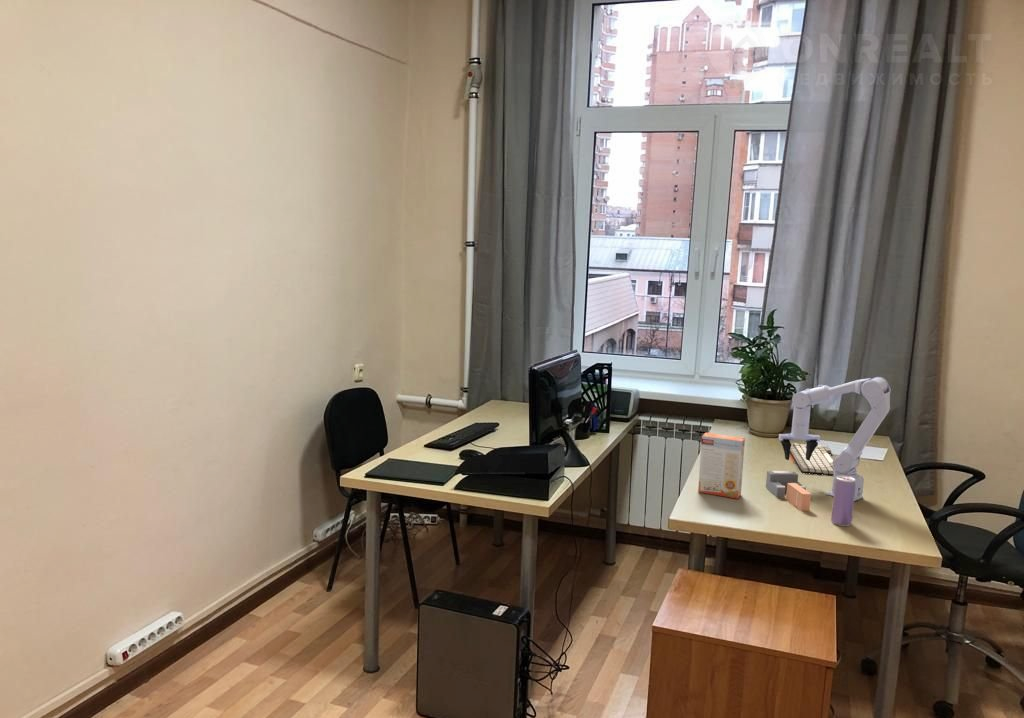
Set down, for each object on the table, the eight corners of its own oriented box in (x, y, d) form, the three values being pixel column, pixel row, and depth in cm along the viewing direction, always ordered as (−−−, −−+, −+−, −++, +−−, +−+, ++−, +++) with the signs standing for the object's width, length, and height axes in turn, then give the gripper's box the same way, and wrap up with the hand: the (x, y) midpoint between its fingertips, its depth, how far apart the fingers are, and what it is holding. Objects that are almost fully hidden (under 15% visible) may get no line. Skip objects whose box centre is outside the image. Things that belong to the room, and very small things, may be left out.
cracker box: (741, 494, 263) (745, 437, 260) (738, 499, 258) (742, 441, 255) (701, 487, 270) (705, 431, 266) (697, 492, 264) (701, 435, 261)
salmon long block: (785, 499, 260) (787, 483, 259) (794, 499, 260) (795, 482, 259) (800, 511, 249) (802, 494, 248) (809, 511, 250) (811, 494, 249)
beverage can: (849, 528, 235) (854, 482, 233) (829, 523, 238) (834, 478, 236) (852, 522, 240) (857, 477, 238) (832, 518, 243) (837, 473, 241)
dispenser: (765, 486, 272) (767, 470, 271) (793, 487, 272) (794, 470, 271) (776, 497, 261) (778, 480, 260) (805, 498, 262) (806, 480, 260)
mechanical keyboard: (850, 479, 286) (851, 470, 285) (798, 475, 289) (799, 466, 289) (827, 451, 323) (828, 444, 322) (781, 448, 326) (782, 441, 325)
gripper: (815, 421, 277) (812, 456, 279) (776, 420, 276) (773, 455, 279) (823, 426, 270) (820, 462, 272) (784, 425, 269) (780, 461, 272)
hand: (797, 459), depth 275 cm, fingers open, 7 cm apart
